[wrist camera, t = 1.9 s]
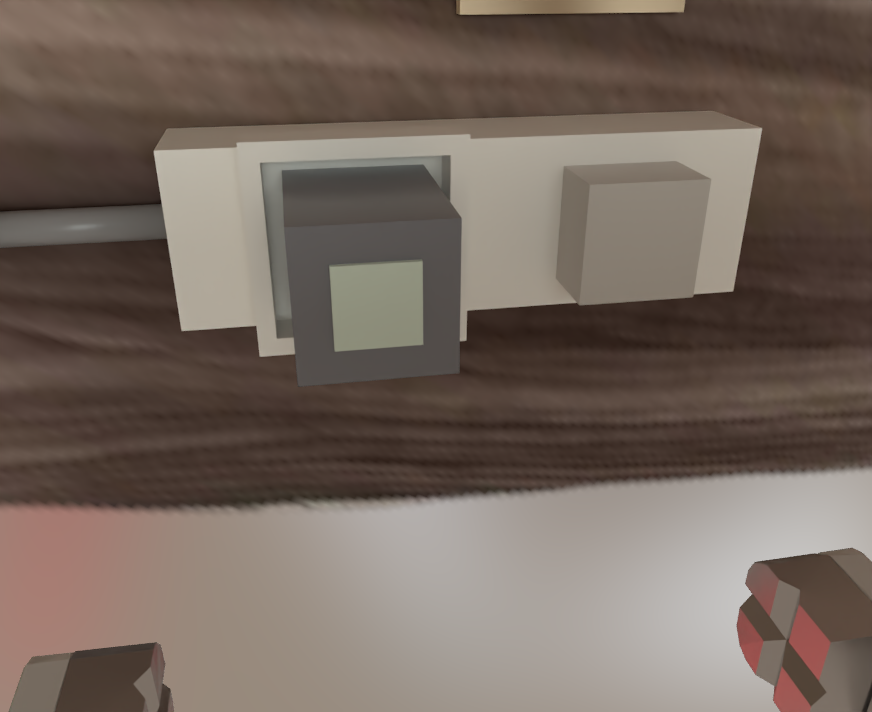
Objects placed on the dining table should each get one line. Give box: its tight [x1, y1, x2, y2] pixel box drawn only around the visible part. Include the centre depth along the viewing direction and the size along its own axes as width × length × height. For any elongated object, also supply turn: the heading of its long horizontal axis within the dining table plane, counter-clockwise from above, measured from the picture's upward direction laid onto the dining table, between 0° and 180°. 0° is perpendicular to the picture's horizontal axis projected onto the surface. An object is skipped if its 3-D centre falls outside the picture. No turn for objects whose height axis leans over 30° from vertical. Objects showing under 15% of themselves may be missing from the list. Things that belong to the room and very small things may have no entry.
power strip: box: [0, 111, 762, 357], centre depth 27 cm, size 28×7×6 cm, turn 90°
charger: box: [282, 164, 462, 387], centre depth 24 cm, size 4×4×6 cm
